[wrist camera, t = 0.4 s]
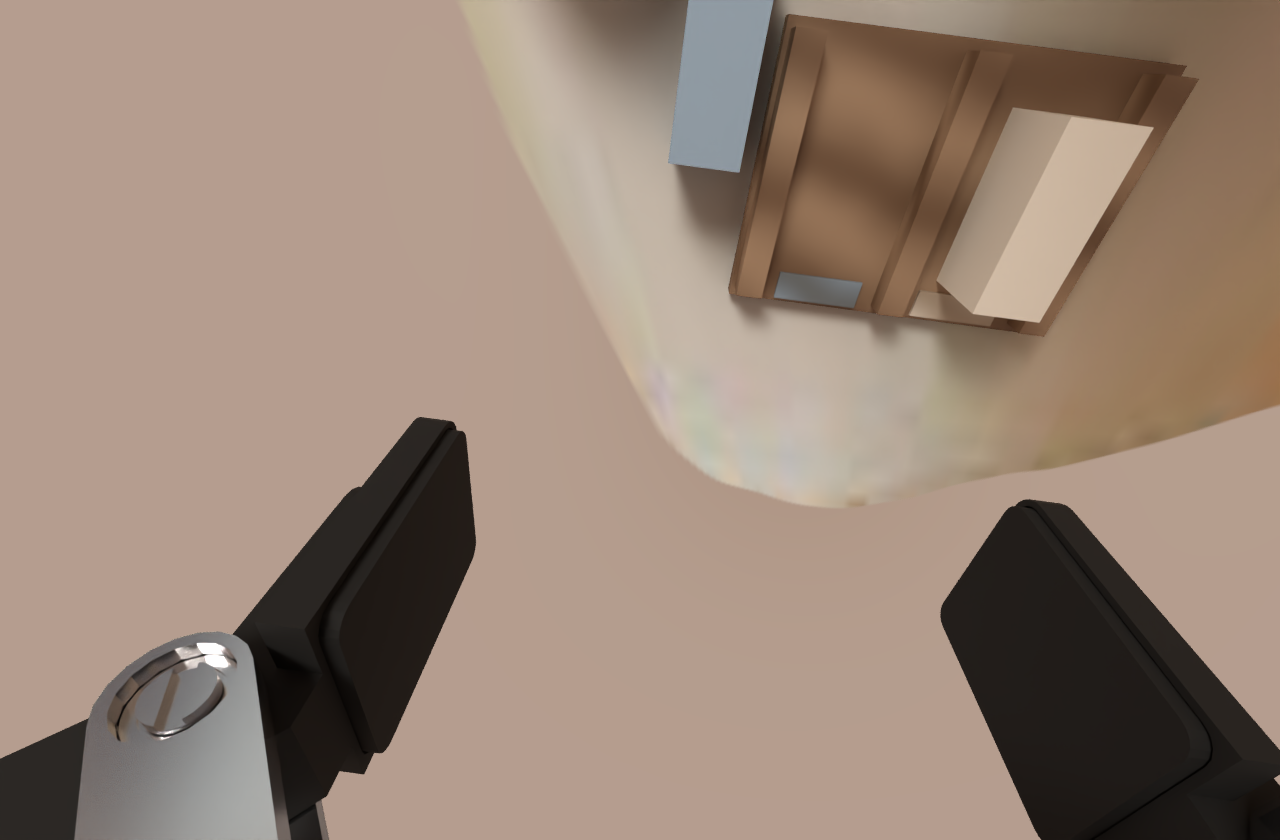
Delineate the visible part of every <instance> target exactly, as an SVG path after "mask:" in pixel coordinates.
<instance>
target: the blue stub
mask: <svg viewBox="0 0 1280 840" xmlns="http://www.w3.org/2000/svg"><path fill="white" fill-rule="evenodd" d="M772 5H773V0H689V1H688V9H687V17H686V25H685V33H684V41H683V49H682V57H681V65H680V73H679V81H678V89H677V97H676V105H675V113H674V121H673V129H672V137H671V145H670V153H669V161H668V163H670V164H678V165H685V166H693V167H700V168H708V169H715V170H723V171H730V172H738V173H739V172H740V167H741V162H742V157H743V152H744V146H745V141H746V136H747V131H748V126H749V121H750V116H751V111H752V106H753V101H754V96H755V91H756V86H757V81H758V76H759V71H760V66H761V61H762V56H763V50H764V45H765V40H766V35H767V30H768V25H769V20H770V15H771V10H772Z"/></svg>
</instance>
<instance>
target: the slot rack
mask: <svg viewBox="0 0 1280 840" xmlns="http://www.w3.org/2000/svg"><path fill="white" fill-rule="evenodd" d="M1186 67H1187V66H1183V65H1176V64H1168V63H1160V62H1153V61H1145V60H1137V59H1130V58H1122V57H1114V56H1107V55H1099V54H1091V53H1083V52H1076V51H1068V50H1060V49H1053V48H1045V47H1037V46H1030V45H1022V44H1014V43H1007V42H999V41H991V40H983V39H976V38H968V37H960V36H953V35H945V34H937V33H930V32H922V31H914V30H907V29H899V28H891V27H884V26H876V25H868V24H860V23H853V22H845V21H837V20H830V19H822V18H814V17H807V16H799V15H791V14H788V15H786V18H785V22H784V27H783V32H782V36H781V41H780V46H779V51H778V55H777V60H776V65H775V70H774V74H773V79H772V84H771V88H770V93H769V98H768V103H767V107H766V112H765V117H764V122H763V126H762V131H761V136H760V141H759V145H758V150H757V155H756V159H755V164H754V169H753V174H752V178H751V183H750V188H749V193H748V197H747V202H746V207H745V212H744V216H743V221H742V226H741V230H740V235H739V240H738V245H737V249H736V254H735V259H734V264H733V268H732V273H731V278H730V283H729V287H728V289H729V294H736V295H737V296H745V297H752V298H760V299H761V298H766V299H774V300H781V301H789V302H796V303H804V304H811V305H819V306H826V307H834V308H841V309H849V310H856V311H864V312H871V313H877V314H879V315H887V316H894V317H908V318H916V319H923V320H931V321H938V322H946V323H953V324H961V325H968V326H976V327H983V328H990V329H998V330H1005V331H1013V332H1018V333H1021V334H1029V335H1036V336H1045V334H1046V332H1047V331H1048V329H1049V327H1050V326H1051V324H1052V322H1053V321H1054V319H1055V317H1056V316H1057V314H1058V312H1059V311H1060V309H1061V307H1062V306H1063V304H1064V302H1065V301H1066V299H1067V297H1068V296H1069V294H1070V292H1071V291H1072V289H1073V288H1074V286H1075V284H1076V283H1077V281H1078V279H1079V278H1080V276H1081V274H1082V273H1083V271H1084V269H1085V268H1086V266H1087V264H1088V263H1089V261H1090V259H1091V258H1092V256H1093V254H1094V253H1095V251H1096V249H1097V248H1098V246H1099V244H1100V243H1101V241H1102V239H1103V238H1104V236H1105V234H1106V233H1107V231H1108V229H1109V228H1110V226H1111V224H1112V223H1113V221H1114V219H1115V218H1116V216H1117V214H1118V213H1119V211H1120V209H1121V208H1122V206H1123V204H1124V203H1125V201H1126V199H1127V198H1128V196H1129V194H1130V193H1131V191H1132V189H1133V188H1134V186H1135V185H1136V183H1137V181H1138V180H1139V178H1140V176H1141V175H1142V173H1143V171H1144V170H1145V168H1146V166H1147V165H1148V163H1149V161H1150V160H1151V158H1152V156H1153V155H1154V153H1155V151H1156V150H1157V148H1158V146H1159V145H1160V143H1161V141H1162V140H1163V138H1164V136H1165V135H1166V133H1167V131H1168V130H1169V128H1170V126H1171V125H1172V123H1173V121H1174V120H1175V118H1176V116H1177V115H1178V113H1179V111H1180V110H1181V108H1182V106H1183V105H1184V103H1185V101H1186V100H1187V98H1188V96H1189V95H1190V93H1191V91H1192V90H1193V88H1194V86H1195V85H1196V83H1197V82H1198V80H1199V79H1196V78H1189V77H1181V75H1182V74H1183V72H1184V70H1185V68H1186ZM1012 108H1021V109H1028V110H1036V111H1044V112H1051V113H1059V114H1067V115H1074V116H1082V117H1088V118H1095V119H1101V120H1108V121H1114V122H1121V123H1127V124H1134V125H1140V126H1147V127H1153V130H1152V132H1151V133H1150V135H1149V137H1148V139H1147V140H1146V142H1145V144H1144V145H1143V147H1142V149H1141V150H1140V152H1139V154H1138V156H1137V157H1136V159H1135V161H1134V162H1133V164H1132V166H1131V168H1130V169H1129V171H1128V173H1127V174H1126V176H1125V178H1124V179H1123V181H1122V183H1121V185H1120V186H1119V188H1118V190H1117V191H1116V193H1115V195H1114V196H1113V198H1112V200H1111V202H1110V203H1109V205H1108V207H1107V208H1106V210H1105V212H1104V214H1103V215H1102V217H1101V219H1100V220H1099V222H1098V224H1097V225H1096V227H1095V229H1094V231H1093V232H1092V234H1091V236H1090V237H1089V239H1088V241H1087V243H1086V244H1085V246H1084V248H1083V249H1082V251H1081V253H1080V254H1079V256H1078V258H1077V260H1076V261H1075V263H1074V265H1073V266H1072V268H1071V270H1070V271H1069V273H1068V275H1067V277H1066V278H1065V280H1064V282H1063V283H1062V285H1061V287H1060V289H1059V290H1058V292H1057V294H1056V295H1055V297H1054V299H1053V300H1052V302H1051V304H1050V306H1049V307H1048V309H1047V311H1046V312H1045V314H1044V316H1043V317H1042V319H1041V321H1040V323H1037V322H1030V321H1022V320H1015V319H1007V318H1000V317H992V316H985V315H977V314H972V313H971V312H970V311H969V310H968V309H967V308H966V307H965V306H963V305H962V304H961V303H960V302H959V301H958V300H957V299H956V298H955V297H954V296H953V295H952V294H950V293H949V292H948V291H947V290H946V289H945V288H944V287H943V286H942V285H941V284H940V283H939V282H937V281H936V280H937V278H938V276H939V273H940V271H941V269H942V266H943V264H944V262H945V260H946V257H947V255H948V253H949V251H950V248H951V246H952V244H953V242H954V239H955V237H956V235H957V233H958V230H959V228H960V226H961V224H962V221H963V219H964V217H965V215H966V212H967V210H968V208H969V206H970V203H971V201H972V199H973V197H974V194H975V192H976V190H977V187H978V185H979V183H980V181H981V178H982V176H983V174H984V172H985V169H986V167H987V165H988V163H989V160H990V158H991V156H992V154H993V151H994V149H995V147H996V145H997V142H998V140H999V138H1000V136H1001V133H1002V131H1003V129H1004V127H1005V124H1006V122H1007V120H1008V118H1009V115H1010V113H1011V111H1012Z"/></svg>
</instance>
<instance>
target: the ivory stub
mask: <svg viewBox="0 0 1280 840" xmlns="http://www.w3.org/2000/svg"><path fill="white" fill-rule="evenodd" d="M1152 130H1153V127H1147V126H1140V125H1134V124H1127V123H1121V122H1114V121H1108V120H1101V119H1095V118H1088V117H1082V116H1074V115H1067V114H1059V113H1051V112H1044V111H1036V110H1028V109H1021V108H1012V111H1011V113H1010V115H1009V118H1008V120H1007V122H1006V124H1005V127H1004V129H1003V131H1002V133H1001V136H1000V138H999V140H998V142H997V145H996V147H995V149H994V151H993V154H992V156H991V158H990V160H989V163H988V165H987V167H986V169H985V172H984V174H983V176H982V178H981V181H980V183H979V185H978V187H977V190H976V192H975V194H974V197H973V199H972V201H971V203H970V206H969V208H968V210H967V212H966V215H965V217H964V219H963V221H962V224H961V226H960V228H959V230H958V233H957V235H956V237H955V239H954V242H953V244H952V246H951V248H950V251H949V253H948V255H947V257H946V260H945V262H944V264H943V266H942V269H941V271H940V273H939V276H938V278H937V280H936V281H937V282H939V283H940V284H941V285H942V286H943V287H944V288H945V289H946V290H947V291H948V292H949V293H950V294H952V295H953V296H954V297H955V298H956V299H957V300H958V301H959V302H960V303H961V304H962V305H963V306H965V307H966V308H967V309H968V310H969V311H970V312H971V313H972V314H977V315H985V316H992V317H1000V318H1007V319H1015V320H1022V321H1030V322H1037V323H1040V321H1041V319H1042V317H1043V316H1044V314H1045V312H1046V311H1047V309H1048V307H1049V306H1050V304H1051V302H1052V300H1053V299H1054V297H1055V295H1056V294H1057V292H1058V290H1059V289H1060V287H1061V285H1062V283H1063V282H1064V280H1065V278H1066V277H1067V275H1068V273H1069V271H1070V270H1071V268H1072V266H1073V265H1074V263H1075V261H1076V260H1077V258H1078V256H1079V254H1080V253H1081V251H1082V249H1083V248H1084V246H1085V244H1086V243H1087V241H1088V239H1089V237H1090V236H1091V234H1092V232H1093V231H1094V229H1095V227H1096V225H1097V224H1098V222H1099V220H1100V219H1101V217H1102V215H1103V214H1104V212H1105V210H1106V208H1107V207H1108V205H1109V203H1110V202H1111V200H1112V198H1113V196H1114V195H1115V193H1116V191H1117V190H1118V188H1119V186H1120V185H1121V183H1122V181H1123V179H1124V178H1125V176H1126V174H1127V173H1128V171H1129V169H1130V168H1131V166H1132V164H1133V162H1134V161H1135V159H1136V157H1137V156H1138V154H1139V152H1140V150H1141V149H1142V147H1143V145H1144V144H1145V142H1146V140H1147V139H1148V137H1149V135H1150V133H1151V132H1152Z"/></svg>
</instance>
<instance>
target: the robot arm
mask: <svg viewBox="0 0 1280 840" xmlns="http://www.w3.org/2000/svg"><path fill="white" fill-rule="evenodd" d="M475 546H476V536H475V525H474V515H473V504H472V495H471V484H470V474H469V462H468V452H467V442H466V435H465V433H464V432H463V431H457V430H456V426H455V424H454V422H452V421H446V420H438V419H431V418H424V417H419V418H417V419H415V420H414V421H413V423H412V424H411V425H410V426H409V428H408V429H407V430H406V431H405V433H404V434H403V435H402V436H401V438H400V439H399V440H398V442H397V443H396V444H395V445H394V447H393V448H392V449H391V450H390V452H389V453H388V454H387V455H386V457H385V458H384V459H383V460H382V462H381V463H380V464H379V466H378V467H377V468H376V469H375V471H374V472H373V473H372V475H371V476H370V477H369V478H368V479H367V481H366V482H365V483H364V485H363V486H362V487H357V488H354V489H352V490H351V491H350V492H349V493H348V494H347V495H346V496H345V497H344V498H343V499H342V500H341V502H340V503H339V504H338V505H337V507H336V508H335V509H334V510H333V511H332V513H331V514H330V515H329V516H328V518H327V519H326V520H325V521H324V523H323V524H322V525H321V526H320V528H319V529H318V530H317V531H316V532H315V534H314V535H313V536H312V537H311V539H310V540H309V541H308V542H307V543H306V545H305V546H304V547H303V548H302V550H301V551H300V552H299V553H298V555H297V556H296V557H295V558H294V560H293V561H292V562H291V563H290V564H289V566H288V567H287V568H286V569H285V571H284V572H283V573H282V574H281V575H280V577H279V578H278V579H277V580H276V582H275V583H274V584H273V585H272V587H271V588H270V589H269V590H268V592H267V593H266V594H265V595H264V597H263V598H262V599H261V600H260V601H259V603H258V604H257V605H256V606H255V607H254V609H253V610H252V611H251V612H250V614H249V615H248V616H247V617H246V619H245V620H244V621H243V622H242V624H241V625H240V626H239V627H238V628H237V630H236V631H235V632H234V633H233V635H231V634H227V633H223V632H203V633H196V634H192V635H189V636H184V637H181V638H177V639H174V640H172V641H170V642H168V643H165V644H163V645H161V646H159V647H157V648H155V649H153V650H150V651H149V652H147V653H146V654H144V655H143V656H142V657H140V658H139V659H137V660H136V661H134V662H133V663H131V664H130V665H128V666H127V667H126V668H125V669H124V670H123V671H122V672H120V673H119V674H118V675H117V676H116V677H115V678H114V679H113V680H112V681H111V682H110V683H109V684H108V685H107V686H106V688H105V689H104V690H103V692H102V694H101V695H100V696H99V698H98V699H97V701H96V702H95V704H94V705H93V707H92V711H91V713H90V716H89V718H88V719H86V720H84V721H82V722H80V723H78V724H75V725H73V726H71V727H69V728H67V729H64V730H62V731H60V732H58V733H56V734H53V735H51V736H49V737H47V738H45V739H43V740H40V741H38V742H36V743H34V744H31V745H29V746H27V747H25V748H23V749H21V750H19V751H16V752H14V753H12V754H10V755H7V756H5V757H3V758H1V759H0V840H329V837H328V831H327V826H326V821H325V816H324V811H323V806H322V800H321V799H323V798H324V797H326V796H327V795H328V792H329V790H330V789H331V787H332V785H333V783H334V781H335V779H336V777H337V775H338V773H339V771H343V772H350V773H358V774H364V773H365V771H366V769H367V767H368V765H369V763H370V760H371V758H372V756H373V754H374V753H383V752H384V751H385V750H386V749H387V747H388V746H389V744H390V742H391V740H392V738H393V736H394V733H395V732H396V729H397V727H398V725H399V722H400V720H401V718H402V716H403V714H404V711H405V709H406V707H407V705H408V702H409V700H410V698H411V696H412V693H413V691H414V689H415V687H416V684H417V682H418V680H419V678H420V676H421V673H422V671H423V669H424V667H425V664H426V662H427V660H428V658H429V655H430V653H431V651H432V649H433V646H434V644H435V642H436V640H437V638H438V635H439V633H440V631H441V629H442V626H443V624H444V622H445V620H446V617H447V615H448V613H449V611H450V608H451V606H452V604H453V602H454V599H455V597H456V595H457V593H458V591H459V588H460V586H461V584H462V581H463V579H464V577H465V575H466V573H467V570H468V568H469V566H470V563H471V561H472V559H473V556H474V552H475ZM941 622H942V625H943V628H944V630H945V632H946V634H947V636H948V639H949V641H950V643H951V645H952V648H953V650H954V652H955V654H956V656H957V659H958V661H959V663H960V665H961V668H962V670H963V672H964V674H965V676H966V678H967V681H968V683H969V685H970V687H971V689H972V692H973V694H974V696H975V698H976V701H977V703H978V705H979V707H980V709H981V712H982V714H983V716H984V718H985V721H986V723H987V725H988V727H989V729H990V732H991V734H992V736H993V738H994V740H995V743H996V745H997V747H998V749H999V752H1000V754H1001V756H1002V758H1003V760H1004V763H1005V765H1006V767H1007V769H1008V772H1009V774H1010V776H1011V778H1012V780H1013V783H1014V785H1015V787H1016V789H1017V791H1018V793H1019V796H1020V798H1021V800H1022V803H1023V805H1024V807H1025V809H1026V811H1027V814H1028V816H1029V818H1030V820H1031V822H1032V825H1033V827H1034V829H1035V831H1036V832H1037V834H1038V836H1039V837H1040V839H1041V840H1280V785H1279V784H1278V783H1277V782H1276V781H1275V779H1274V778H1275V777H1277V776H1278V775H1280V750H1279V749H1278V747H1277V746H1276V745H1275V744H1274V743H1273V742H1272V741H1271V739H1270V738H1269V737H1268V736H1267V735H1266V734H1265V733H1264V731H1263V730H1262V729H1261V728H1260V727H1259V726H1258V724H1257V723H1256V722H1255V721H1254V720H1253V719H1252V718H1251V716H1250V715H1249V714H1248V713H1247V712H1246V711H1245V709H1244V708H1243V707H1242V706H1241V705H1240V704H1239V702H1238V701H1237V700H1236V699H1235V698H1234V697H1233V695H1232V694H1231V693H1230V692H1229V691H1228V690H1227V689H1226V687H1225V686H1224V685H1223V684H1222V683H1221V682H1220V680H1219V679H1218V678H1217V677H1216V676H1215V675H1214V674H1213V672H1212V671H1211V670H1210V669H1209V668H1208V667H1207V665H1206V664H1205V663H1204V662H1203V661H1202V660H1201V658H1199V656H1198V655H1197V654H1196V653H1195V652H1194V651H1193V649H1192V648H1191V647H1190V646H1189V645H1188V643H1187V642H1186V641H1185V640H1184V639H1183V638H1182V637H1181V635H1180V634H1179V633H1178V632H1177V631H1176V630H1175V628H1174V627H1173V626H1172V625H1171V624H1170V623H1169V622H1168V620H1167V619H1166V618H1165V617H1164V616H1163V615H1162V613H1161V612H1160V611H1159V610H1158V609H1157V608H1156V606H1155V605H1154V604H1153V603H1152V602H1151V601H1150V599H1149V598H1148V597H1147V596H1146V595H1145V594H1144V593H1143V591H1142V590H1141V589H1140V588H1139V587H1138V586H1137V584H1136V583H1135V582H1134V581H1133V580H1132V579H1131V578H1130V576H1129V575H1128V574H1127V573H1126V572H1125V571H1124V569H1123V568H1122V567H1121V566H1120V565H1119V564H1118V563H1117V561H1116V560H1115V559H1114V558H1113V557H1112V556H1111V555H1110V553H1109V552H1108V551H1107V550H1106V549H1105V548H1104V546H1103V545H1102V544H1101V543H1100V542H1099V541H1098V539H1097V538H1096V537H1095V536H1094V535H1093V534H1092V533H1091V531H1090V530H1089V529H1088V528H1087V527H1086V526H1085V524H1084V523H1083V522H1082V521H1081V520H1080V519H1079V518H1078V516H1077V515H1076V514H1075V513H1074V512H1073V510H1071V509H1070V508H1069V507H1068V506H1066V505H1063V504H1059V503H1052V502H1044V501H1036V500H1030V499H1029V500H1023V501H1020V502H1019V503H1018V504H1017V505H1016V506H1014V507H1013V506H1012V507H1010V508H1008V509H1007V510H1006V512H1005V513H1004V514H1003V516H1002V517H1001V519H1000V520H999V522H998V523H997V524H996V526H995V528H994V529H993V530H992V532H991V533H990V535H989V536H988V538H987V539H986V541H985V542H984V544H983V545H982V547H981V548H980V549H979V551H978V552H977V554H976V556H975V557H974V558H973V560H972V561H971V563H970V564H969V566H968V567H967V569H966V570H965V572H964V573H963V575H962V576H961V578H960V579H959V580H958V582H957V583H956V585H955V586H954V588H953V589H952V591H951V592H950V594H949V596H948V597H947V598H946V600H945V601H944V603H943V605H942V608H941Z"/></svg>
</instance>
